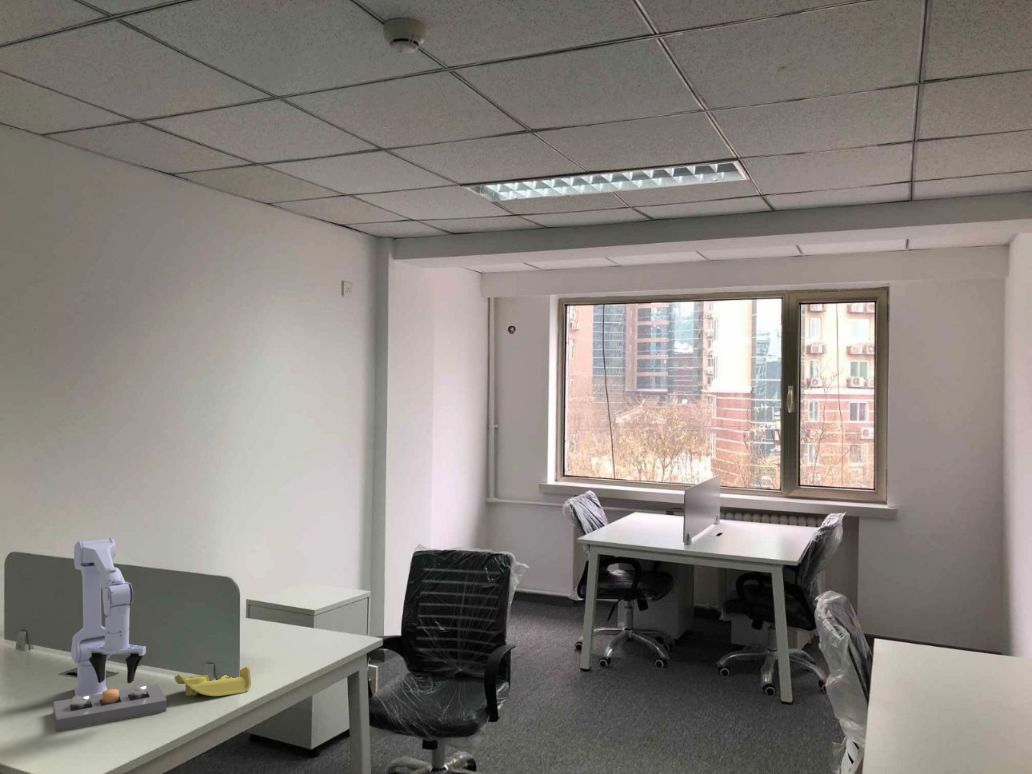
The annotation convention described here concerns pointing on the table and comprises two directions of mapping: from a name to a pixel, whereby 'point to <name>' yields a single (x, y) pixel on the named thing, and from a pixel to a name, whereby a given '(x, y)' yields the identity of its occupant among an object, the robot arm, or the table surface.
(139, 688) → the plunger
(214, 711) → the table surface
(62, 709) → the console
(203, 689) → the plastic component
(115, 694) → the orange plunger
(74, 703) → the plunger
